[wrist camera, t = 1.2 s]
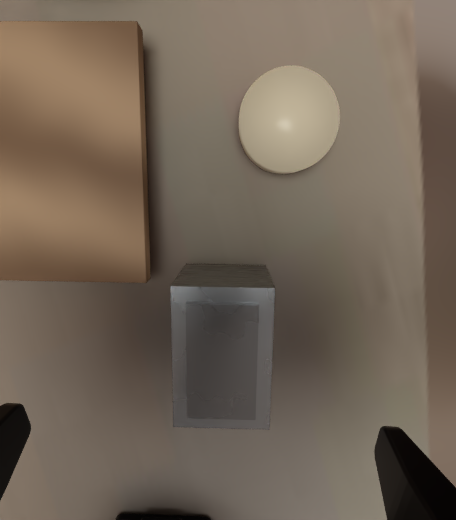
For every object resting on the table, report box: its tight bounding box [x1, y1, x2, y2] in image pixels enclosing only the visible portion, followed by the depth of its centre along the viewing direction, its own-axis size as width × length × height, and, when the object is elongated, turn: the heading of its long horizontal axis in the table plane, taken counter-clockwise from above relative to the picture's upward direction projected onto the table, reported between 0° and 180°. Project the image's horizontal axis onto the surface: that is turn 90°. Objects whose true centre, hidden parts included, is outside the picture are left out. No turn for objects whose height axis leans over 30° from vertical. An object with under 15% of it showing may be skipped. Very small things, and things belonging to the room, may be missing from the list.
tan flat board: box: [0, 21, 150, 283], centre depth 18 cm, size 12×10×2 cm
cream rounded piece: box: [239, 65, 340, 174], centre depth 18 cm, size 5×5×2 cm
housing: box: [171, 264, 275, 430], centre depth 18 cm, size 7×5×5 cm, turn 179°
